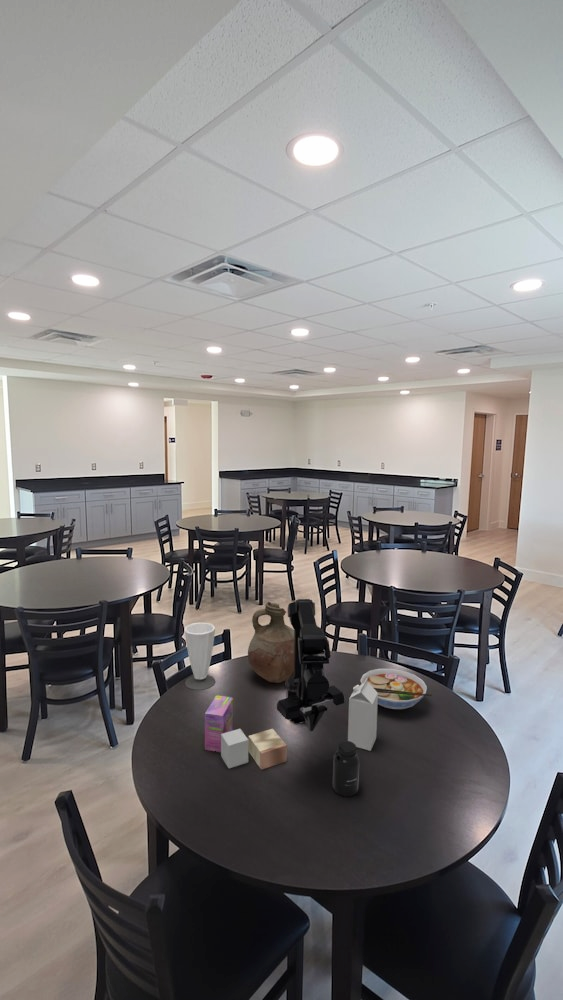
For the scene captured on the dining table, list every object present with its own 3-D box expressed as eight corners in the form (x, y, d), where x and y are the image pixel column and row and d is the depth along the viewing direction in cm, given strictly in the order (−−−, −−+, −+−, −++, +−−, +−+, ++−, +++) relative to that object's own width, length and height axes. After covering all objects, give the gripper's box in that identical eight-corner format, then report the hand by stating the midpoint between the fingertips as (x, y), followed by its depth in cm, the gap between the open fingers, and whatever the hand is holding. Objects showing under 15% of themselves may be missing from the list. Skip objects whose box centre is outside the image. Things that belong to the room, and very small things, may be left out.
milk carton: (376, 738, 149) (378, 680, 147) (370, 751, 143) (372, 691, 140) (354, 732, 152) (355, 675, 150) (347, 745, 146) (349, 686, 143)
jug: (310, 689, 178) (311, 611, 174) (252, 695, 173) (252, 615, 169) (295, 663, 199) (296, 593, 195) (244, 668, 194) (244, 596, 190)
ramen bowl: (425, 690, 178) (426, 669, 177) (433, 725, 156) (434, 702, 155) (357, 683, 183) (357, 663, 182) (355, 717, 160) (356, 694, 159)
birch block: (286, 761, 138) (272, 743, 146) (286, 745, 137) (272, 728, 145) (261, 769, 134) (248, 751, 142) (261, 753, 134) (248, 735, 142)
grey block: (240, 750, 143) (240, 728, 142) (248, 762, 137) (248, 739, 137) (221, 756, 140) (221, 734, 139) (228, 768, 135) (228, 745, 134)
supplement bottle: (352, 801, 123) (353, 757, 122) (328, 790, 127) (329, 748, 125) (362, 785, 129) (363, 743, 127) (339, 775, 132) (340, 735, 131)
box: (222, 753, 141) (222, 715, 140) (204, 750, 143) (204, 713, 141) (233, 732, 151) (233, 697, 150) (216, 729, 153) (215, 694, 151)
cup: (213, 690, 177) (212, 634, 174) (181, 689, 177) (181, 633, 174) (217, 675, 188) (217, 622, 185) (188, 674, 188) (187, 621, 185)
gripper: (324, 658, 142) (323, 707, 144) (268, 671, 134) (267, 724, 135) (346, 674, 132) (345, 727, 134) (287, 690, 124) (286, 746, 126)
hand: (310, 730), depth 133 cm, fingers closed
